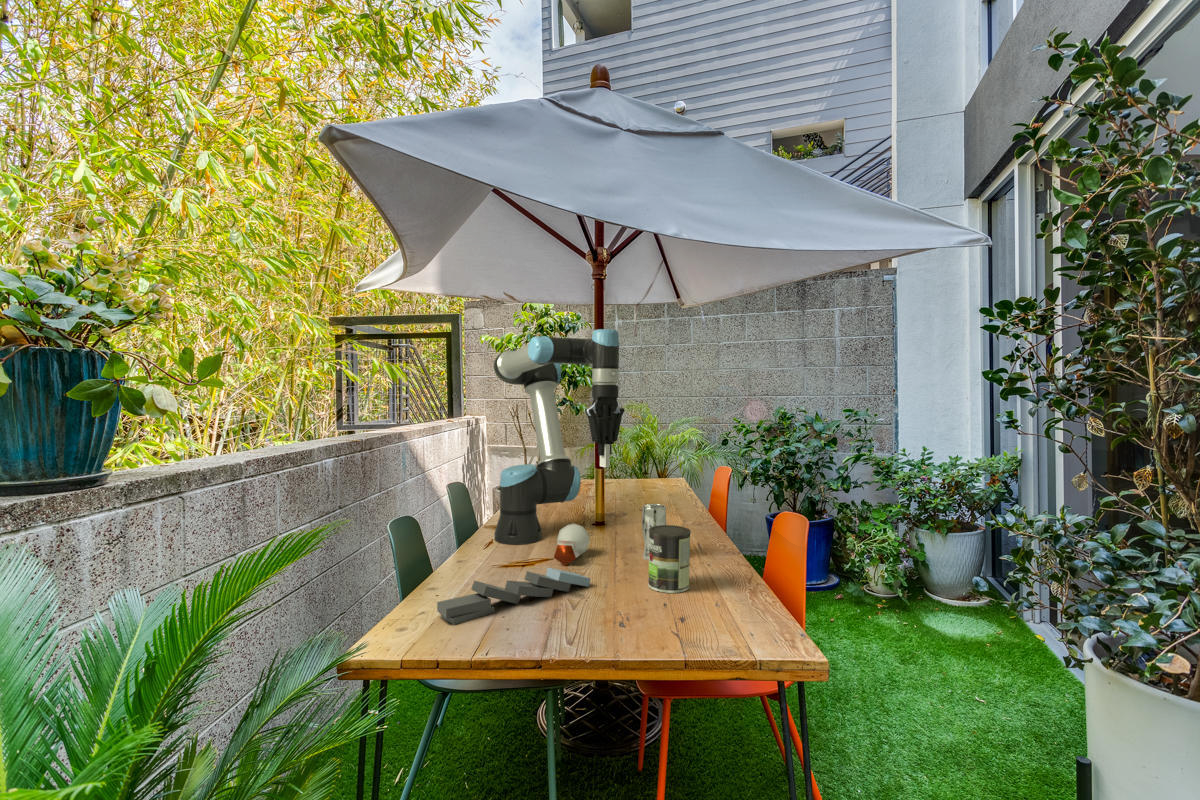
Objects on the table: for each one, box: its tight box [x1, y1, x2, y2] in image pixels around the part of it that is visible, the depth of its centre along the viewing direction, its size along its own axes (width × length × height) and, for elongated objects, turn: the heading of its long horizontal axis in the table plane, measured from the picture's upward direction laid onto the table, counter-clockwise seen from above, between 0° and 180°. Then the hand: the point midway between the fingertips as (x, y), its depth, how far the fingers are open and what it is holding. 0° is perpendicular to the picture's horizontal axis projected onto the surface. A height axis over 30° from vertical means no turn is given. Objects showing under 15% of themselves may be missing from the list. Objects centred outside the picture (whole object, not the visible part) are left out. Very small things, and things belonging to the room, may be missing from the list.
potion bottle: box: [553, 522, 590, 567], centre depth 169 cm, size 9×10×15 cm
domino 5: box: [524, 571, 572, 593], centre depth 141 cm, size 2×5×10 cm
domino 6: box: [545, 567, 591, 588], centre depth 145 cm, size 2×5×10 cm
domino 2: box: [440, 604, 495, 626], centre depth 127 cm, size 2×5×10 cm
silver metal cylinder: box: [641, 503, 667, 561], centre depth 171 cm, size 7×7×15 cm
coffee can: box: [647, 524, 692, 594], centre depth 146 cm, size 10×10×14 cm
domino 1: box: [436, 592, 492, 619], centre depth 127 cm, size 2×5×10 cm
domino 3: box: [470, 580, 522, 605], centre depth 133 cm, size 2×5×10 cm
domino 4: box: [504, 579, 554, 598], centre depth 137 cm, size 2×5×10 cm
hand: (604, 466), depth 169 cm, fingers closed
